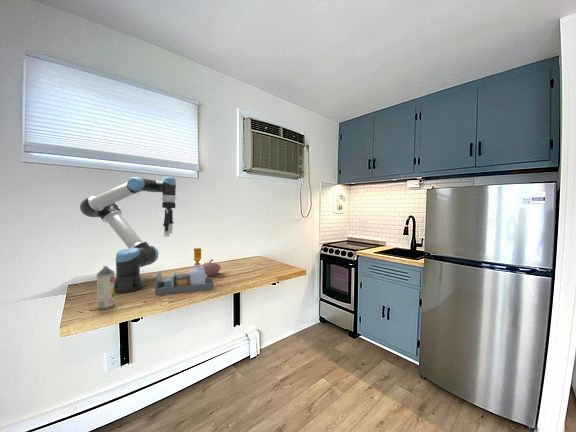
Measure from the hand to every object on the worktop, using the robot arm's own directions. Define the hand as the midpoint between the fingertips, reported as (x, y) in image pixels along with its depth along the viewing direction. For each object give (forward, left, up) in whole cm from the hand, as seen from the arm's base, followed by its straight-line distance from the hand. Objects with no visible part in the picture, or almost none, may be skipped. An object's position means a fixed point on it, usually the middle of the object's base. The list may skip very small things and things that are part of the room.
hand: (168, 234), depth 149 cm
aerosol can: (-24, -29, -32) cm, 49 cm away
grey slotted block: (+12, -14, -31) cm, 36 cm away
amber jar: (+9, -14, -31) cm, 35 cm away
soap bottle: (+18, -13, -32) cm, 39 cm away
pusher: (+2, -14, -31) cm, 34 cm away
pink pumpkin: (+27, +9, -32) cm, 42 cm away
